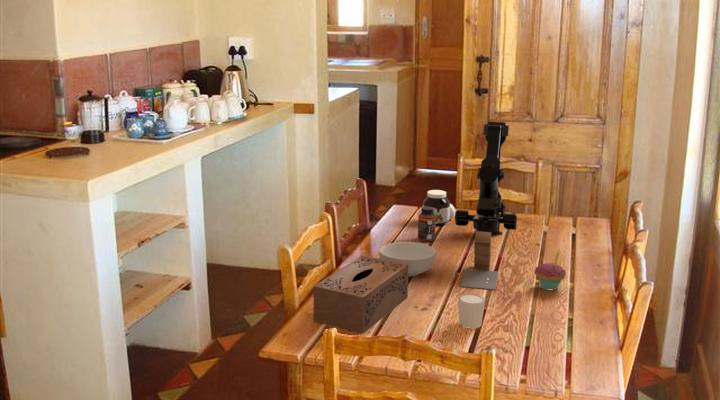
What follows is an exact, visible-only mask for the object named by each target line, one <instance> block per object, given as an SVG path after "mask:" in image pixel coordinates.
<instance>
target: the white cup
mask: <svg viewBox="0 0 720 400" xmlns="http://www.w3.org/2000/svg"><path fill="white" fill-rule="evenodd" d="M457 301H458V302H457V304H458V306H457V307H458V323H459V324H460V325H462V326H465V327H470V328H475V329H476V330H477V329H479V328H480V327H481V326H482V322H483V318H484V317H483V316H484V310H485V304H486V303H485V302H486V299H485V298H484V297H483V296H481V295H478V294H476V293H464V294H461V295H459V296H458V297H457ZM460 325H459V326H460ZM462 326H461V327H462ZM475 329H474V330H475Z"/></svg>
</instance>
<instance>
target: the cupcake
mask: <svg viewBox="0 0 720 400" xmlns="http://www.w3.org/2000/svg"><path fill="white" fill-rule="evenodd" d="M560 250H561V249H558V251H557V250H556V251H557V252H556V254H555V258H554V262H549V263H541V264H539V265H538V266H536V268H535V270H534V274H535V277H536V278H537V279H538V281H539V285H540V286H539V287H540V288H541V287H542V288H544V289H543V290H545V289H555V288H557V287H558V288H559V286H560V284H561V282H562V281H563V280H564V279H565V277H566V274H567V272H566V270H565V269H564V268H563V267H562V266H560V265H559V264H558V259H559V257H560V256H559V255H560ZM542 288H541V289H542ZM558 288H557V289H558Z"/></svg>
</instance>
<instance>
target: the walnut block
mask: <svg viewBox="0 0 720 400" xmlns="http://www.w3.org/2000/svg"><path fill="white" fill-rule="evenodd" d="M473 246H474V247H473V248H474V252H473V253H474V254H473V255H474V257H473V259H474V260H473V263H474V266H473V269H475V270H486V271H490V267H491V256H492V255H491V250H492V249H491V247H492V236H491V232H480V231H477V230H475V235H474V245H473Z"/></svg>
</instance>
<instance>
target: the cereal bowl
mask: <svg viewBox="0 0 720 400" xmlns="http://www.w3.org/2000/svg"><path fill="white" fill-rule="evenodd" d="M436 253H437V252H436V250H435V248H433V247H432V246H430V245H428V244H426V243H421V242H417V241H416V242H414V241H397V242H396V241H395V242H390V243H386V244H384V245H382V246H381V247H379V249H378V256H379V258H378V259H382V260H387V261H392V262H397V263H403V264H408V278H409V277H415V276H418V275H419V274H421V273H425V272H426V271H429V270H430V269H431V268H432V267H433V266H434V264H435V261H436Z"/></svg>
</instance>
